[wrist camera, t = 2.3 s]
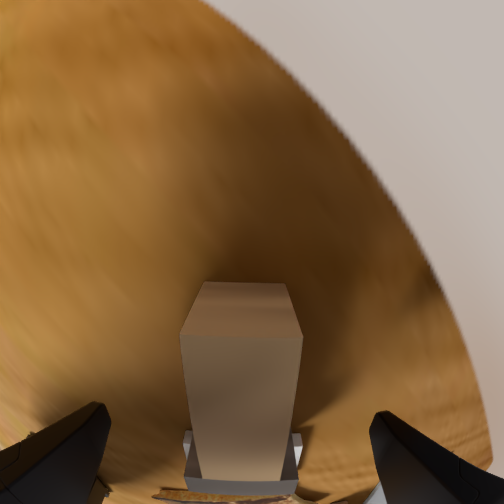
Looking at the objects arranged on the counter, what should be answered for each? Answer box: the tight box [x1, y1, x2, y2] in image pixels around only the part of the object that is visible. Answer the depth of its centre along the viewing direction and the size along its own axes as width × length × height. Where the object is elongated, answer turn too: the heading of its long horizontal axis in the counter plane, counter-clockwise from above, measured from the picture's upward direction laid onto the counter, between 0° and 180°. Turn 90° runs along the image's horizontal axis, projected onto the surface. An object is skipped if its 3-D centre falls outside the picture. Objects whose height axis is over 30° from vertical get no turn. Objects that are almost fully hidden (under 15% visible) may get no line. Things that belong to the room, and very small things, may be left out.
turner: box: [179, 281, 303, 496], centre depth 10 cm, size 13×6×4 cm, turn 179°
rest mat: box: [363, 482, 387, 504], centre depth 15 cm, size 7×14×1 cm, turn 179°
